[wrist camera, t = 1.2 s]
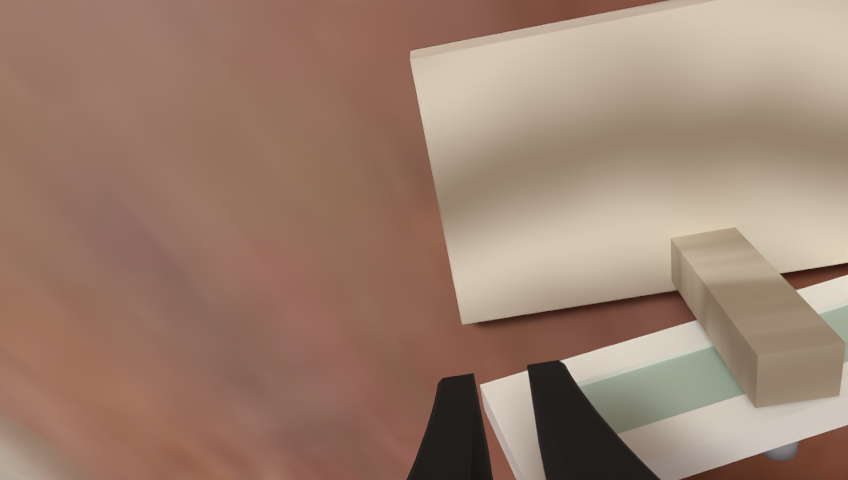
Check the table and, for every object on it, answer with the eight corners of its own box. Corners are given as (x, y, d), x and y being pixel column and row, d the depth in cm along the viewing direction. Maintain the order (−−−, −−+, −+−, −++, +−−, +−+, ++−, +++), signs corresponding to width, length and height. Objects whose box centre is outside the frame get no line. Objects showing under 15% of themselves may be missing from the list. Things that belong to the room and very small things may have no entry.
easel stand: (931, 228, 22) (1141, 364, 16) (460, 305, 24) (476, 460, 17) (983, -61, 18) (1294, -37, 12) (410, 50, 20) (406, 128, 13)
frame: (883, 303, 22) (1018, 384, 18) (487, 424, 21) (539, 541, 17) (890, 262, 22) (1031, 337, 18) (480, 384, 20) (533, 497, 16)
